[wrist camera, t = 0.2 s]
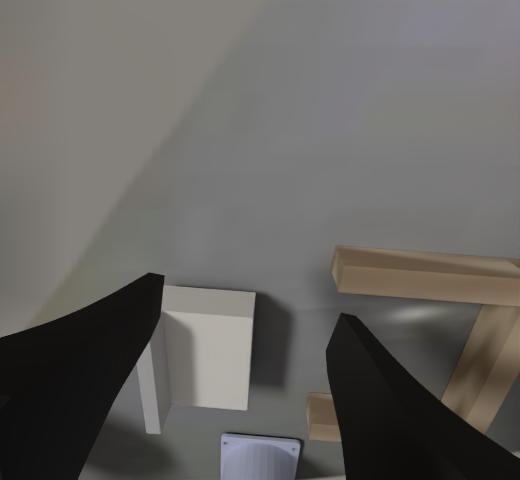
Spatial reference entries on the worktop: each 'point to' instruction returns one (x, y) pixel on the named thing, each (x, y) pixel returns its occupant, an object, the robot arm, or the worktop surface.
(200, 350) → the grey l-shaped bracket
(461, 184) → the worktop surface
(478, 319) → the wooden u-shaped frame
